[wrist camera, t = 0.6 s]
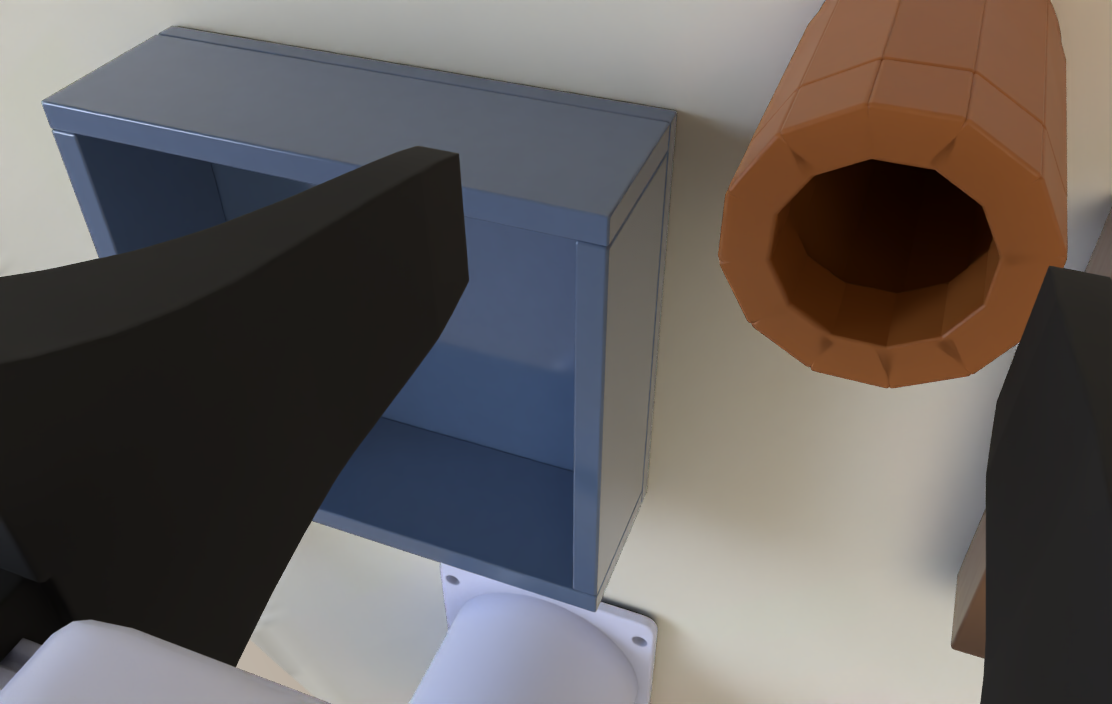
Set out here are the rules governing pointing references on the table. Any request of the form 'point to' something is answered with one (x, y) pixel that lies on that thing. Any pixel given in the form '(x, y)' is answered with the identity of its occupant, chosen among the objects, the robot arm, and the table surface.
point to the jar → (904, 188)
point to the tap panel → (971, 580)
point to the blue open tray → (485, 306)
